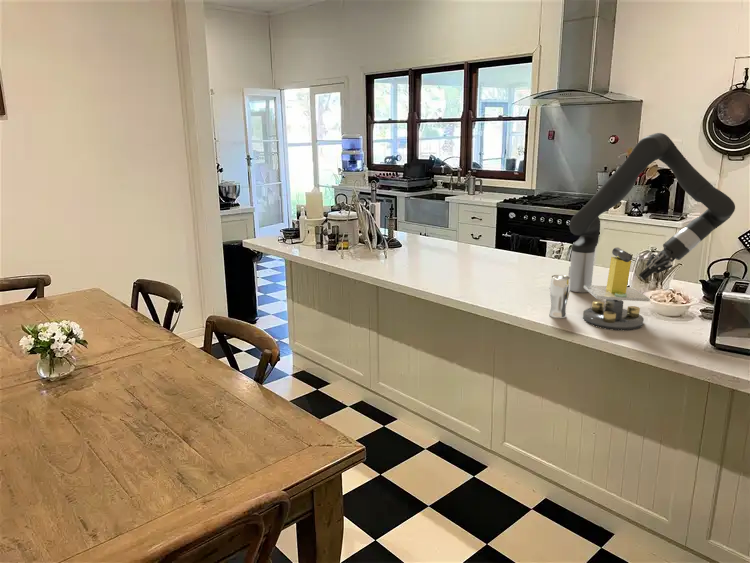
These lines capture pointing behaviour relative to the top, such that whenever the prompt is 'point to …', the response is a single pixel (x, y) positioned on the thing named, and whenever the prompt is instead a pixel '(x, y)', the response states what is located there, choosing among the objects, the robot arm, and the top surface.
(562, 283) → the beer glass
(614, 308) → the disc with brass knobs
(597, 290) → the yellow block with roller
